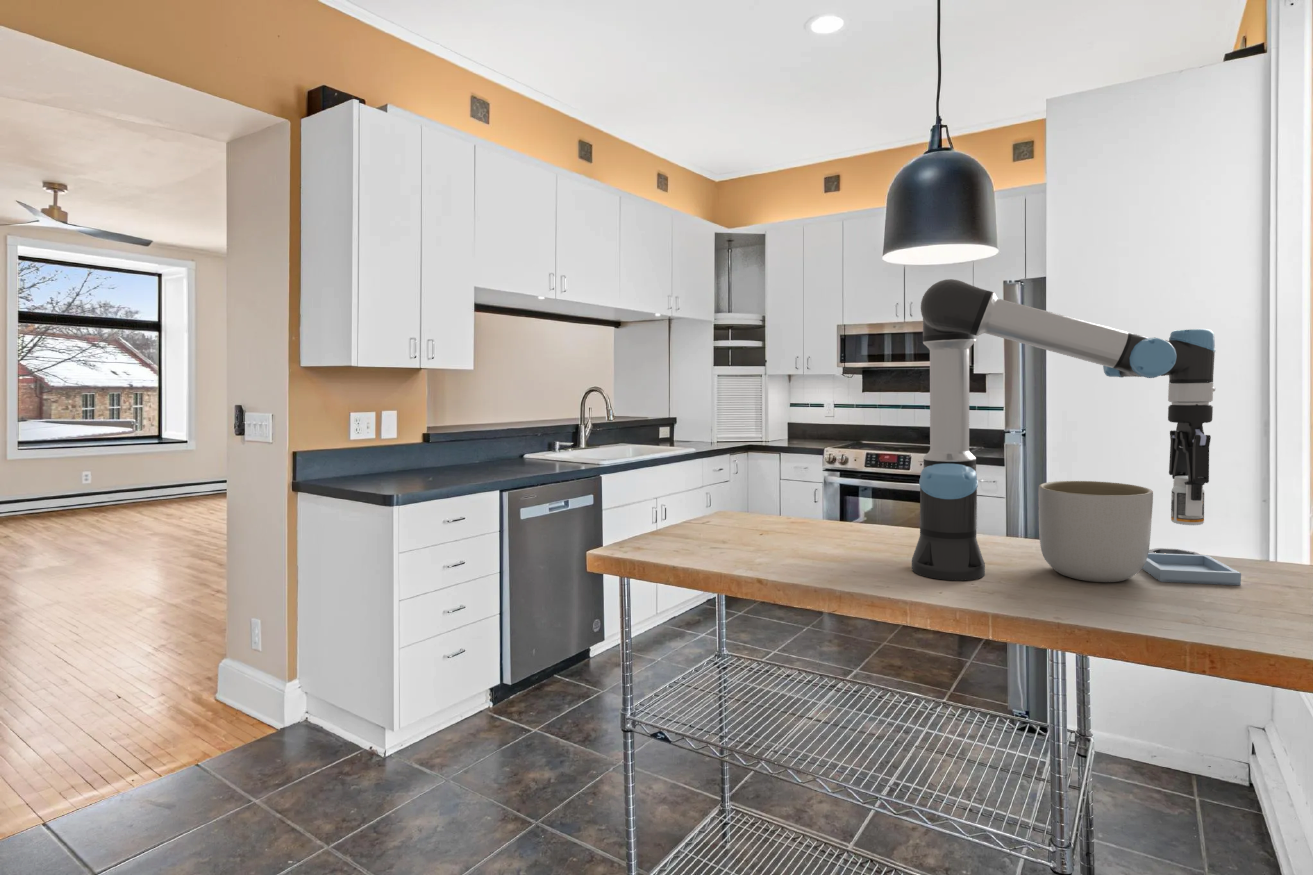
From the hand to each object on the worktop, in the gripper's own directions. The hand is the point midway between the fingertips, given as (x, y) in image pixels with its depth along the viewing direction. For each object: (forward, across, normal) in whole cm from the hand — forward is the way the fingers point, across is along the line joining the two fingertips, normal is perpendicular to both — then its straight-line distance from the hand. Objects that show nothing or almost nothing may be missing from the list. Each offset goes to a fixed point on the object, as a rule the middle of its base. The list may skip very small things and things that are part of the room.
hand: (1186, 512), depth 153 cm
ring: (+13, +14, -3) cm, 19 cm away
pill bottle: (+3, 0, 0) cm, 3 cm away
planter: (+13, -5, +19) cm, 24 cm away
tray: (+13, 0, 0) cm, 13 cm away
